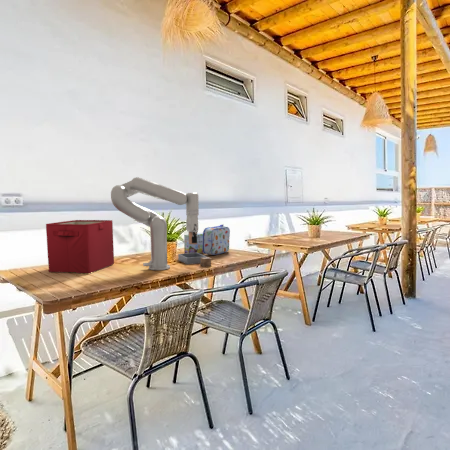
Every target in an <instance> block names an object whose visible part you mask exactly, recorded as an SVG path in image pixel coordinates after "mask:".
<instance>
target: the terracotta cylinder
mask: <svg viewBox="0 0 450 450" xmlns="http://www.w3.org/2000/svg"><path fill="white" fill-rule="evenodd" d="M188 234H189V244H197V243H192V232H188ZM193 234H194V233H193Z"/></svg>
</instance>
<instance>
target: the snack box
mask: <svg viewBox="0 0 450 450" xmlns="http://www.w3.org/2000/svg"><path fill="white" fill-rule="evenodd" d="M183 240H184V241H183V242H184V243H183V244H184V247H183V248H184V249H183V254H185V253H199V254H202V253H203V232H197V244H189V235H188V234H184V239H183ZM203 254H204V253H203Z"/></svg>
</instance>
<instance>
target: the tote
mask: <svg viewBox="0 0 450 450" xmlns="http://www.w3.org/2000/svg"><path fill="white" fill-rule="evenodd" d="M177 254H178V256H177V257H178V261H179V262H181V263H184V264H185V265H195V264H201V258H202V257H207V256H206V255H205V254H202V253H185V254H184V253H177Z"/></svg>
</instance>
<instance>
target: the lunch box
mask: <svg viewBox="0 0 450 450" xmlns="http://www.w3.org/2000/svg"><path fill="white" fill-rule="evenodd" d="M230 232H231V230H230V227H228V226H224V224H219V225H217V226H210V227H209V226H208V227H205V228H203V232H202V233H203V255H209V256H215V255H216V256H217V255H220V254H224V253H228V252H229V250H230V238H231V237H230V236H231V234H230Z"/></svg>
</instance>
